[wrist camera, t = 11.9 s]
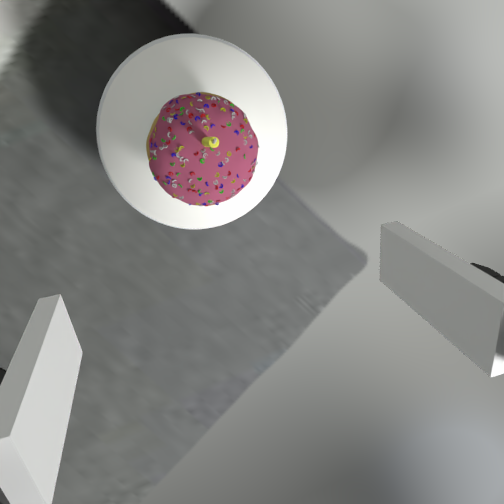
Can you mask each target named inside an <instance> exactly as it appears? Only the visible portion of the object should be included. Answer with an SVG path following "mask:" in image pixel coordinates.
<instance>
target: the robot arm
mask: <svg viewBox="0 0 504 504" xmlns="http://www.w3.org/2000/svg"><path fill="white" fill-rule="evenodd" d="M380 240H381V242H380V281H381V282H383V284H385V285H386V286H387V287H388V288H389V289H390V290H391V291H393V292H394V293H395V294H396V295H397V296H398V297H399V298H401V299H402V300H403V301H404V302H405V303H406V304H407V305H409V306H410V307H411V308H412V309H413V310H414V311H415V312H417V313H418V314H419V315H420V316H421V317H422V318H423V319H425V320H426V321H427V322H428V323H429V324H430V325H431V326H433V327H434V328H435V329H436V330H437V331H438V332H439V333H440V334H442V335H443V336H444V337H445V338H446V339H447V340H449V341H450V342H451V343H452V344H453V345H454V346H456V347H457V348H458V349H459V350H460V351H461V352H462V353H463V354H464V355H466V356H467V357H468V358H469V359H470V360H471V361H473V362H474V363H475V364H476V365H477V366H478V367H479V368H480V369H482V370H483V371H484V372H485V373H486V374H487V375H488V376H490V377H494V376H497V375H500V374H503V373H504V276H501V275H500V274H499V273H497V272H495V271H493V270H491V269H490V268H488V267H484V266H481V265H478V264H475V263H470V264H469V263H468V262H466V261H464V260H462V259H461V258H459V257H458V256H456V255H454V254H452V253H451V252H449V251H447V250H446V249H444V248H442V247H441V246H439V245H437V244H435V243H434V242H432V241H430V240H429V239H427V238H425V237H423V236H422V235H420V234H418V233H417V232H415V231H413V230H411V229H409V228H408V227H406V226H405V225H403V224H401V223H400V222H398V221H395V222H390V223H385V224H382V225H381V239H380ZM82 353H83V352H82V350H81V347H80V344H79V342H78V339H77V336H76V334H75V331H74V328H73V326H72V323H71V320H70V318H69V315H68V313H67V310H66V307H65V305H64V302H63V299H62V297H61V294H59V295H54V296H50V297H45V298H40V299H39V300H38V302H37V304H36V306H35V309H34V311H33V313H32V315H31V318H30V320H29V322H28V324H27V327H26V329H25V331H24V333H23V336H22V338H21V340H20V342H19V345H18V347H17V349H16V351H15V354H14V356H13V358H12V360H11V363H10V365H9V367H8V369H7V372H5V371H3V370H2V369H0V504H52V499H53V494H54V489H55V484H56V479H57V475H58V470H59V465H60V460H61V455H62V450H63V445H64V440H65V436H66V431H67V426H68V421H69V416H70V411H71V406H72V401H73V397H74V392H75V387H76V382H77V377H78V372H79V367H80V363H81V358H82Z"/></svg>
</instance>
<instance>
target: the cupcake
mask: <svg viewBox="0 0 504 504" xmlns="http://www.w3.org/2000/svg"><path fill="white" fill-rule="evenodd" d="M258 147H259V145H258V139H257V136H256V134H255V133H254V131H253V129H252V127H251V125H250V123H249V121H248V119H247V117H246V114H245V113H244V112H243V111H242V110H241V109H240V108H239V107H237V106H236V105H234V104H233V103H232V102H231V101H229V100H228V99H226V98H224V97H222V96H219V95H215V94H211V93H207V92H195V93H190V94H184V95H179V96H176V97H174V98H172V99H171V100H169V101H168V102H167V103H166V104H164V106H163V107H162V108H161V110H160V113H159V114H158V115H157V117H156V118H155V119H154V121H153V123H152V126H151V129H150V131H149V134H148V137H147V141H146V151H147V156H148V160H149V168H150V170H151V172H152V175H153V176H154V180H155V181H157V182H158V183H159V185H160V186H161V187H162V188H163V189H164V190H165V192H166V193H168V194H169V195H170V196H172V198H176V199H178V200H181V201H183V202H185V203H187V204H189V205H197V206H200V207H201V206H211V205H219V203H221V202H224V201H227V200H229V199H231V198H232V197H234V196H235V195H237V194H238V193H239V192H240V191H241V190H242V189H243V188H244V187H246V186H247V185H248V183H249V182H250V181H251V179H252V177H253V174H254V172H255V167H256V165H257V164H258V162H257V155H258ZM256 162H257V163H256Z"/></svg>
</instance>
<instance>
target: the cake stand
mask: <svg viewBox="0 0 504 504" xmlns="http://www.w3.org/2000/svg"><path fill="white" fill-rule="evenodd" d="M195 92H207V93H211V94H215V95H219V96H222V97H224V98H226V99H228V100H229V101H231V102H232V103H233V104H234V105H236V106H237V107H239V108H240V109H241V110H242V111H243V112H244V113H245V114H246V117H247V119H248V121H249V123H250V125H251V127H252V129H253V131H254V133H255V134H256V136H257V139H258V145H259V147H258V155H257V162H258V164H257V165H256V167H255V172H254V174H253V177H252V179H251V181H250V182H249V183H248V185H247V186H246V187H244V188H243V189H242V190H241V191H240V192H239V193H238V194H237V195H235V196H234V197H232V198H231V199H229V200H227V201H224V202H221V203H219V205H211V206H201V207H200V206H197V205H189V204H187V203H185V202H183V201H181V200H178V199H176V198H172V196H170V195H169V194H168V193H166V192H165V190H164V189H163V188H162V187H161V186H160V185H159V183H158V182H157V181H155V180H154V176H153V175H152V172H151V170H150V168H149V160H148V156H147V151H146V141H147V137H148V134H149V131H150V129H151V126H152V123H153V121H154V119H155V118H156V117H157V115H158V114H159V113H160V110H161V108H162V107H163V106H164V104H166V103H167V102H168V101H169V100H171V99H172V98H174V97H176V96H179V95H184V94H190V93H195ZM96 134H97V144H98V150H99V155H100V158H101V161H102V164H103V167H104V169H105V171H106V173H107V175H108V177H109V179H110V181H111V182H112V184H113V185H114V187H115V188H116V190H117V191H118V192H119V193H120V195H121V196H122V197H123V198H124V199H125V200H126V201H127V202H128V203H129V204H130V205H131V206H132V207H133V208H135V209H136V210H138V211H139V212H140V213H142V214H143V215H145V216H147V217H149V218H151V219H152V220H154V221H157V222H159V223H162V224H165V225H168V226H172V227H176V228H183V229H205V228H212V227H216V226H220V225H223V224H226V223H229V222H231V221H233V220H235V219H237V218H239V217H241V216H243V215H244V214H245V213H247V212H248V211H250V210H251V209H252V208H253V207H255V206H256V205H257V204H258V203H259V202H260V201H261V200H262V199H263V198H264V196H265V195H266V194H267V193H268V191H269V190H270V189H271V187H272V186H273V184H274V182H275V180H276V178H277V177H278V175H279V172H280V170H281V167H282V164H283V161H284V157H285V153H286V145H287V122H286V115H285V111H284V107H283V103H282V100H281V98H280V95H279V93H278V90H277V88H276V87H275V85H274V83H273V81H272V80H271V78H270V77H269V75H268V74H267V72H266V71H265V70H264V69H263V68H262V66H260V64H259V63H258V62H257V61H256V60H255V59H254V58H253V57H251V56H250V55H249V54H248V53H246V52H245V51H244V50H242V49H240V48H239V47H237V46H235V45H234V44H232V43H229V42H227V41H225V40H222V39H220V38H216V37H212V36H208V35H202V34H177V35H171V36H166V37H163V38H160V39H157V40H154V41H152V42H150V43H148V44H146V45H144V46H142V47H141V48H139V49H138V50H136V51H135V52H134V53H132V54H131V55H130V56H129V57H128V58H127V59H126V60H125V61H123V62H122V63H121V64H120V66H119V67H118V68H117V70H116V71H115V72H114V74H113V75H112V76H111V78H110V80H109V82H108V84H107V85H106V87H105V89H104V92H103V95H102V98H101V100H100V104H99V109H98V113H97V124H96ZM257 162H256V163H257Z"/></svg>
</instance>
